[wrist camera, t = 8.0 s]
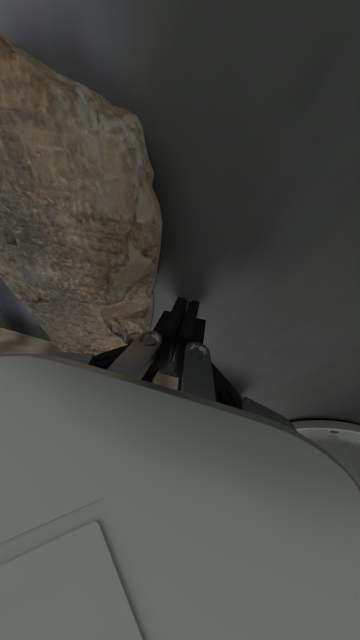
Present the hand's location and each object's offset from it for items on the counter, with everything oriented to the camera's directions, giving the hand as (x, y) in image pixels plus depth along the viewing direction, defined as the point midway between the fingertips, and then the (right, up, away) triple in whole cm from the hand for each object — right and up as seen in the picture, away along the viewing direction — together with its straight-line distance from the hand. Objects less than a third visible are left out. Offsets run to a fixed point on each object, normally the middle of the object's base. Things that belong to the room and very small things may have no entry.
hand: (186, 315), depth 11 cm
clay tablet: (-9, +4, +2) cm, 10 cm away
